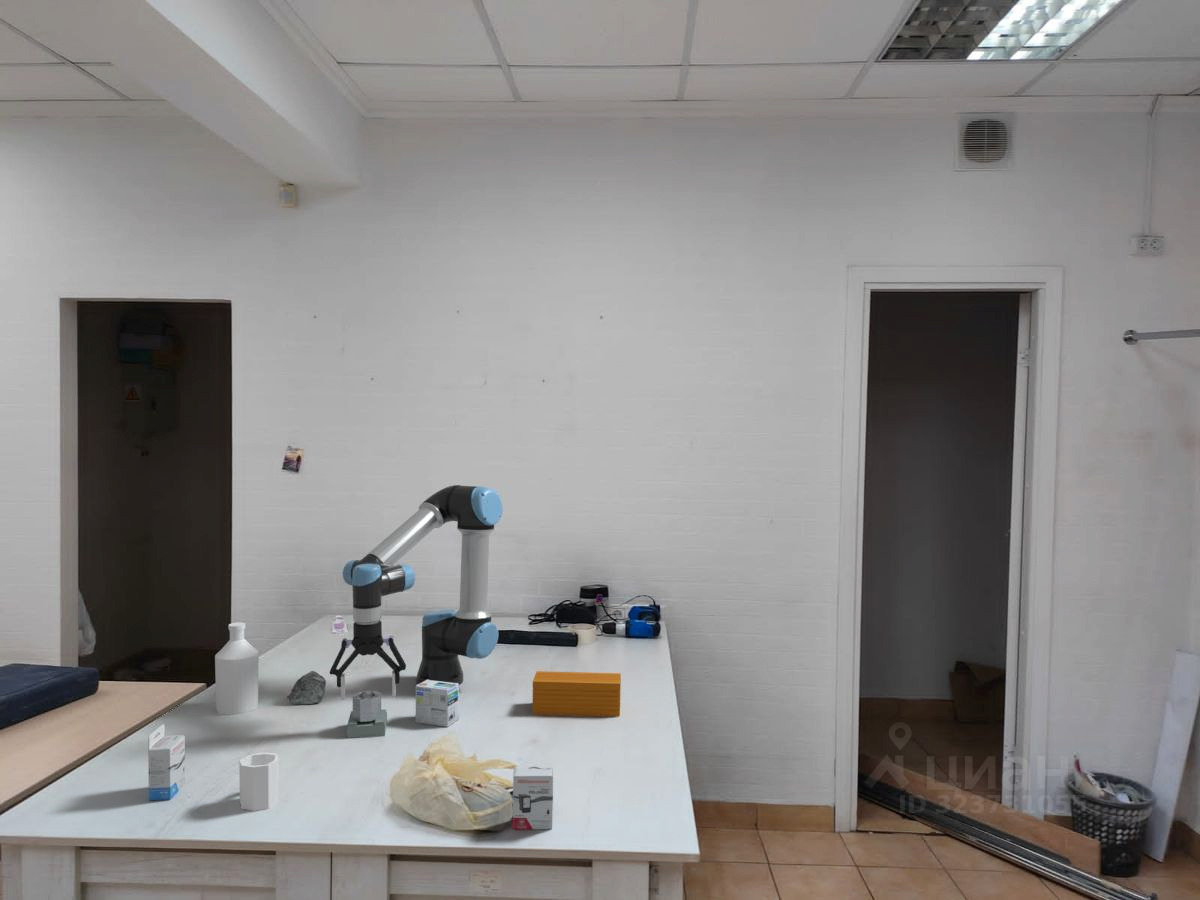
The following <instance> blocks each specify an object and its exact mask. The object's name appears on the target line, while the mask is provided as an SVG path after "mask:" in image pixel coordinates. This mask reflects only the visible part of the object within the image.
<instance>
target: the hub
mask: <svg viewBox="0 0 1200 900" xmlns="http://www.w3.org/2000/svg"><path fill="white" fill-rule="evenodd" d="M365 693H372V697H371V698H363V694H365ZM381 710H382V692H380V691H377V690H362V691H359V692H356V693H353V695H352V711H353V720H356V721H359V722H366V721H374V720H376V719H379V718H381Z"/></svg>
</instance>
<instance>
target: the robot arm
mask: <svg viewBox="0 0 1200 900" xmlns="http://www.w3.org/2000/svg"><path fill="white" fill-rule="evenodd" d="M503 511H504V510H503V502H502V499H501V497H500V495H499V494H498V493H497V491H495V490H494V489H493V488H489V487H484V486H476V485H474V486H471V485H460V484H459V485H458V484H454V485H453V484H452V485H450V486H447V487H444V488H442V489H439V490H438V491H437V492H435V493H433V494H432V495H430V496H429V497H428V498H426V499H425V500H424V501H423V502H422V503H420V505H419V506H418V510H417V511H416V512H415V513H413V515H412V516H410V517H409V518H408V519H407V520H406V521H404V522H403V523H402V524H401V525H400V526H399V527H398V528H396V529H395V530H394V531H392V533H390V534H389V535H388V536H386V538H385V539H383V540H382V541H381V543H379V544H377V546H376V547H374V548H373V549H372V550H371V551H370V552H369V553H367V554H366V555H365V556H364V557H362V558H361V559H360V560H359V559H356V560H355V559H354V560H349V561H347V563H346V564H345V565H344V567H343V569H342V578H343V581H344V583H345V584H347V585H349V586H352V621H353V627H352V628H353V629H352V630H353V635H352V636H353V638H352V639H347V638H342V641H341V645H340V650H339V651H338V653H337V656H336V658H335V660H334V662H333V663H332V666H330V667H331V668H330V670H329V674H330V675H331V676H333V675H334V676H336V687H337V688H340V696H341V697H340V698H341V699H340V700H341V701H345V700H346V675H345V674H346V673H345V671H346V670H347V668H348V667H349V666H350V665H351V664H352V662H354V660H355V659H356V658H357V657H358V655H361V656H367V655H369V656H373V655H375V654H377V655H378V657H380V659H382V660H383V661H384V662H385V663H386V664H387V666H389V667H390V668H391V670H392V672H391V679H392V680H391V683H392V684H391V689H392V691H391V692H392V693H391V695H392V697H393V698H394V697H395V698H396V693H397V692H396V689H397V688H396V685H397V684H400V679H401V678H400V677H401V676H400V672H401V671H405V670H406V668H407V664H406V662H405V661H404V658H403V657H402V654H401V653H400V651H399V650H398V648H397V646H396V644H395V639H394V636H393V635H389V637H383V636H382V635H383V633H382V632H383V631H382V625H383V624H382V621H381V619H382V597H385V596H388V595H393V594H396V593H403V592H405V591H407V590H410V589H412V587H414V585H415V582H416V574H415V573H416V572H415V571H414V569H413V567H411V565H409V564H407V563H403V564H397V565H395V564H396V563H397V562H399V560H400V559H402V557H404V556H405V555H406V554H407V553H409V551H411V550H412V549H413V548H414V547H415V546H416V545H417V544H418V543H420V542H421V541H422V540H423V539H424V538H425V537H426V536H427V535H428V534H430V533H431V532H432V531H433V530H434V529H440V528H441V527H442V526H443V525H445V524H447V523H449V522H457V524H456V525H457V527H456V529H457V531H458V532H459V533H461V551H460V555H461V556H460V559H461V560H460V585H459V587H460V588H459V590H460V591H459V609H458V610H457V609H443V610H442V609H441V610H435V611H430V612H427V613H426V614H424V616H423V617H422V620H421V621H422V622H421V623H422V624H421V661H420V664H419V667H418V670H417V674H416V685H418V684H420V683H422V682H424V681H426V680H433V681H442V682H450V683H459V685H460V684H462V683H463V682H464V671H463V668H462V666H461V662H460V660H459V656H463V657H467V658H468V659H478V660H482V659H485V658H487V657H489V656H490V655H491V654H492V652H493V651H494V649H495V647H496V646H497V644H498V640H499V630H498V627H497V625H496V624H495V623H493V622H492V613H491V612H490V611H489V610H488V582H489V581H488V580H489V579H488V578H489V555H490V554H489V553H490V551H489V550H490V549H489V548H490V547H489V546H490V545H489V544H490V534H491V533H492V532H494V530H495V525H497V524H498V523H499V522H500V520H501V519H500V518H502V516H503ZM384 643H385V645H386V646H388V647H389V649H390V651H391V652H392V655H393V656H394V658H395V660H396V661H397V663H396V661H394V660H393V659H392V658H391V657H390V655H389V654H388V653H387V652H386V651H385V650H384V648H383V647H382V646H383V644H384ZM350 646H352V647H353V648H354V650H353V651H352V653H351V654H350V655H349V656H348V657H347V659H346V660H345V661H344V662H343V664H342V665H341V666H340V667H339V669H338V665H339V663H340V662H341V660H342V658H343V656H344V654H345V653H346V649H349V647H350Z"/></svg>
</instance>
